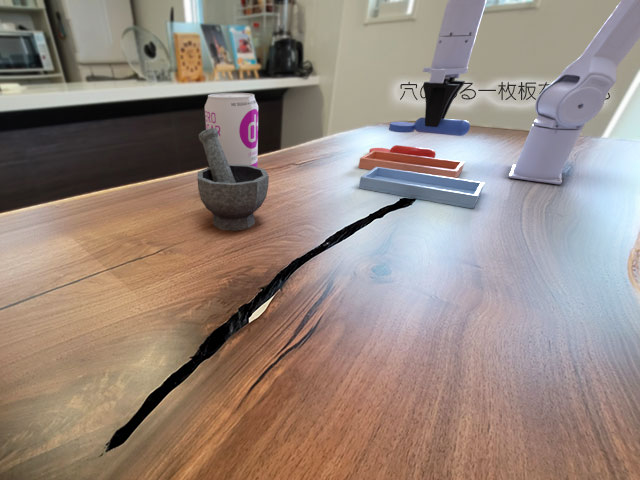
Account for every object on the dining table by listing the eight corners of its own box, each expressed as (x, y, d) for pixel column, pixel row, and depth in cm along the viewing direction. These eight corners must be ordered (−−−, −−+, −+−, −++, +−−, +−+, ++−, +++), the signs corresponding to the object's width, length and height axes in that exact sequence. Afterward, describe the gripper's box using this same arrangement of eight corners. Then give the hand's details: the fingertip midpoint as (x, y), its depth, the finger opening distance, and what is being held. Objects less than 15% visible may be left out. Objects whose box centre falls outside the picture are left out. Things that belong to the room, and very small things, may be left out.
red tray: (371, 159, 81) (373, 150, 79) (461, 172, 72) (464, 161, 71) (358, 167, 75) (359, 157, 74) (453, 182, 66) (457, 171, 65)
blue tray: (374, 177, 70) (376, 166, 68) (480, 194, 61) (485, 182, 60) (358, 188, 64) (360, 176, 63) (472, 208, 55) (477, 196, 54)
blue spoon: (469, 134, 68) (474, 119, 66) (464, 138, 64) (469, 122, 63) (392, 127, 75) (395, 113, 73) (385, 131, 71) (388, 116, 70)
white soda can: (265, 190, 64) (267, 93, 55) (240, 204, 58) (239, 99, 49) (227, 183, 67) (224, 91, 59) (200, 196, 62) (192, 96, 53)
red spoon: (435, 160, 80) (439, 147, 78) (430, 164, 76) (434, 152, 75) (372, 152, 87) (374, 140, 85) (365, 156, 83) (367, 144, 82)
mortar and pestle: (280, 223, 51) (285, 132, 45) (230, 242, 47) (227, 143, 40) (230, 203, 59) (228, 122, 52) (182, 218, 54) (173, 130, 47)
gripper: (441, 38, 67) (421, 118, 75) (420, 36, 58) (400, 128, 65) (483, 36, 64) (458, 121, 71) (469, 35, 54) (441, 132, 62)
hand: (433, 125), depth 68 cm, fingers closed on blue spoon, 2 cm apart
